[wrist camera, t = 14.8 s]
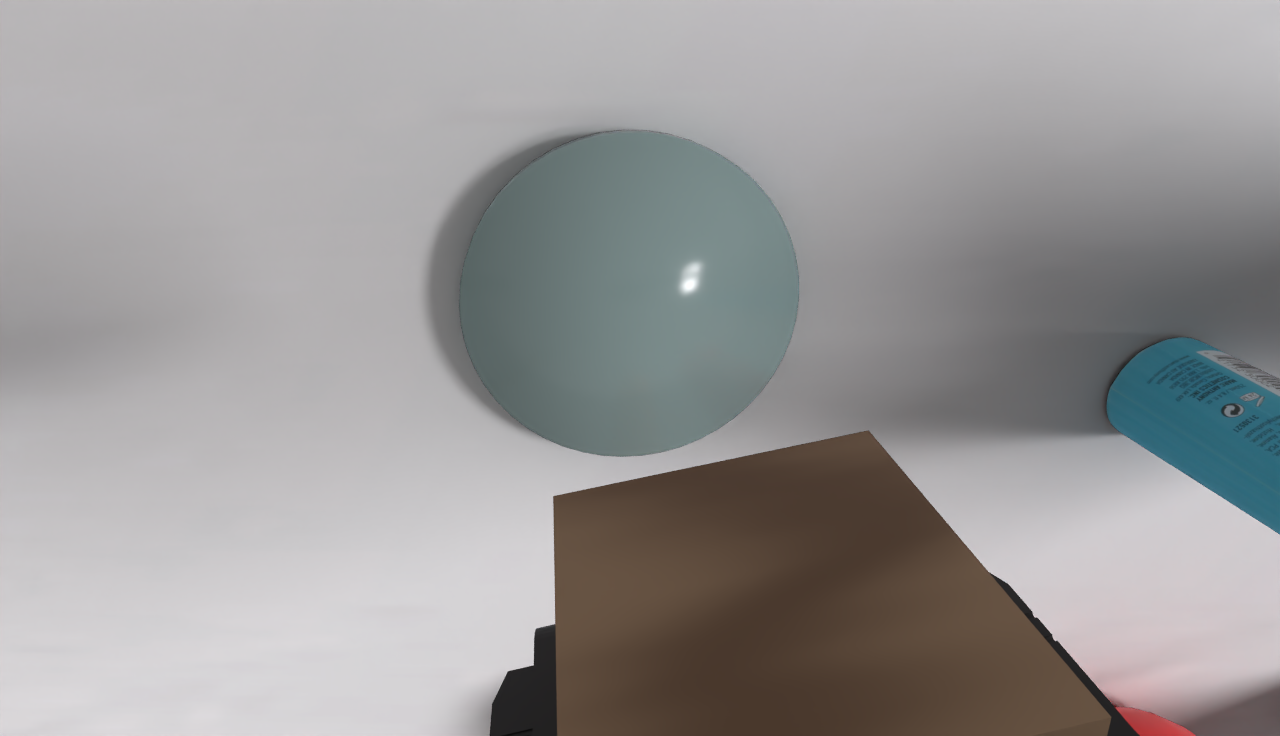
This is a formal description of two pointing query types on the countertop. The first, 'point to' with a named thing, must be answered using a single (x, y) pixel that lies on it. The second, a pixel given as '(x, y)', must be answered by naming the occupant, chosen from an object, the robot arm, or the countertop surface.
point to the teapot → (1151, 723)
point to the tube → (1205, 420)
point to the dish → (628, 293)
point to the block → (792, 609)
